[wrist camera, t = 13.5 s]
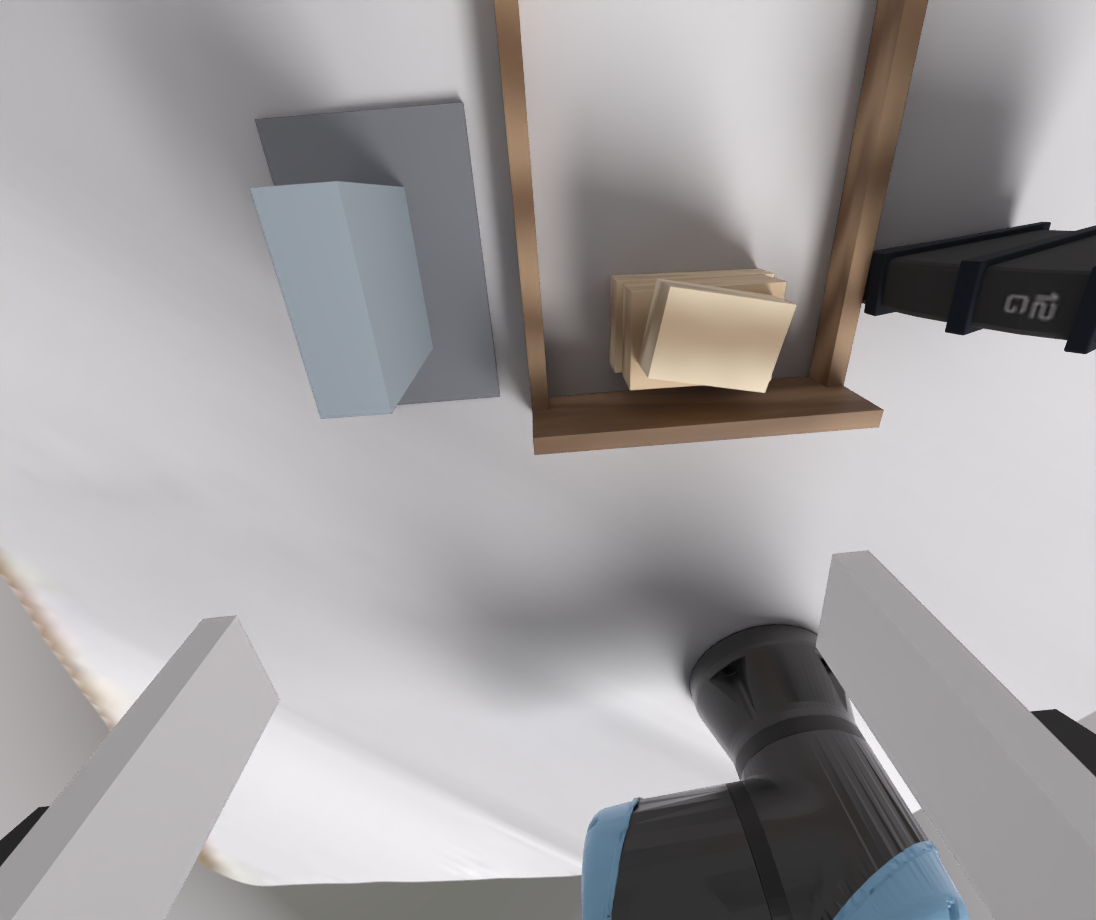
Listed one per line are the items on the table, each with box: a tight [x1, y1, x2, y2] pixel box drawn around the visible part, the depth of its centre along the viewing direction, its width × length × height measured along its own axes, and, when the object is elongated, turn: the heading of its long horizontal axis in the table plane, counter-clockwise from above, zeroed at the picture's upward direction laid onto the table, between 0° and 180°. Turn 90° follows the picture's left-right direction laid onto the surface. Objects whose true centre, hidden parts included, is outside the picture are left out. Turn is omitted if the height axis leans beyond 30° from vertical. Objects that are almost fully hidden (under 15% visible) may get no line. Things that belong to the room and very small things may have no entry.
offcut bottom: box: [609, 268, 774, 373], centre depth 34 cm, size 6×10×3 cm, turn 92°
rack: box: [494, 0, 928, 455], centre depth 29 cm, size 26×22×7 cm
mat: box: [255, 102, 500, 405], centre depth 33 cm, size 18×12×1 cm, turn 4°
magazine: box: [862, 222, 1096, 354], centre depth 29 cm, size 4×13×15 cm, turn 98°
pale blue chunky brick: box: [250, 181, 433, 419], centre depth 27 cm, size 10×4×12 cm, turn 4°
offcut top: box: [638, 278, 797, 393], centre depth 28 cm, size 5×7×3 cm
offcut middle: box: [622, 275, 787, 390], centre depth 31 cm, size 6×9×3 cm, turn 93°
